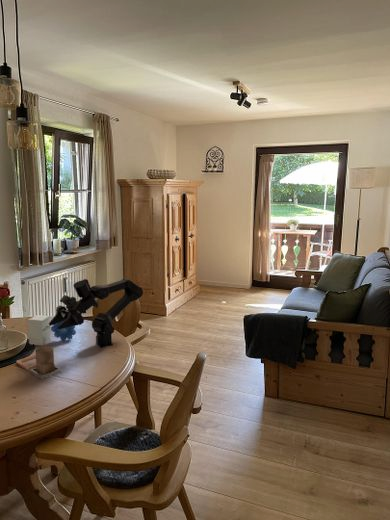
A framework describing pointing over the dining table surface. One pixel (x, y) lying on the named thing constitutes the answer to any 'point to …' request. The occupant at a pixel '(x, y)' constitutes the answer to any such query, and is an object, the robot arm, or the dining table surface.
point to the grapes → (63, 331)
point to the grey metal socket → (45, 374)
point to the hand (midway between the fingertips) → (53, 326)
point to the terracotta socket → (26, 360)
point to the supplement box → (39, 330)
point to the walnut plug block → (44, 360)
